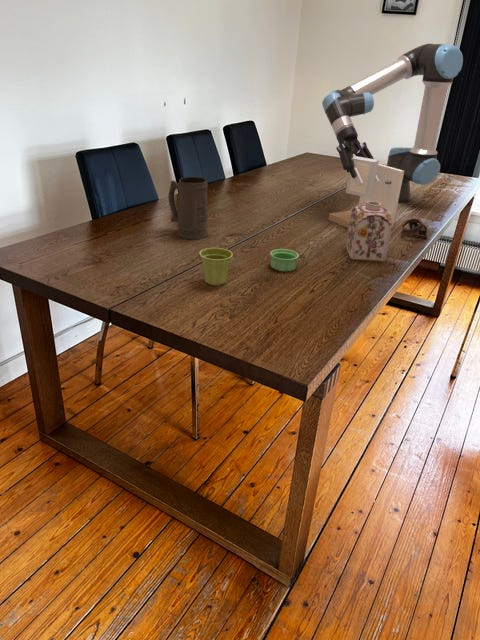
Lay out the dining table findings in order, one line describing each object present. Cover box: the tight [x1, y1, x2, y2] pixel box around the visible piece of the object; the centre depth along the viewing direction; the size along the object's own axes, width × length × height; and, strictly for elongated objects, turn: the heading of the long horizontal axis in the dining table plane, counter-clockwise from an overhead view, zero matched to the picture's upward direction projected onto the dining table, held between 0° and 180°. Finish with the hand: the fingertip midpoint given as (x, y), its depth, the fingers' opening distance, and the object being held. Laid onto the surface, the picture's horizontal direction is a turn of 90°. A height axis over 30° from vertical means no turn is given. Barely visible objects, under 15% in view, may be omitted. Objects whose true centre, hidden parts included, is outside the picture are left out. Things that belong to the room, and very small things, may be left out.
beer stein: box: [167, 176, 209, 240], centre depth 180 cm, size 15×11×20 cm
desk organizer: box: [328, 163, 404, 229], centre depth 201 cm, size 18×18×22 cm
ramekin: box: [269, 248, 300, 272], centre depth 162 cm, size 9×9×4 cm
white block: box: [345, 156, 380, 197], centre depth 195 cm, size 5×9×13 cm, turn 57°
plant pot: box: [198, 247, 233, 286], centre depth 148 cm, size 9×9×9 cm
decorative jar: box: [345, 201, 393, 262], centre depth 172 cm, size 12×12×18 cm
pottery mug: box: [400, 217, 429, 240], centre depth 195 cm, size 12×10×8 cm
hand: (368, 183), depth 193 cm, fingers closed on white block, 8 cm apart
